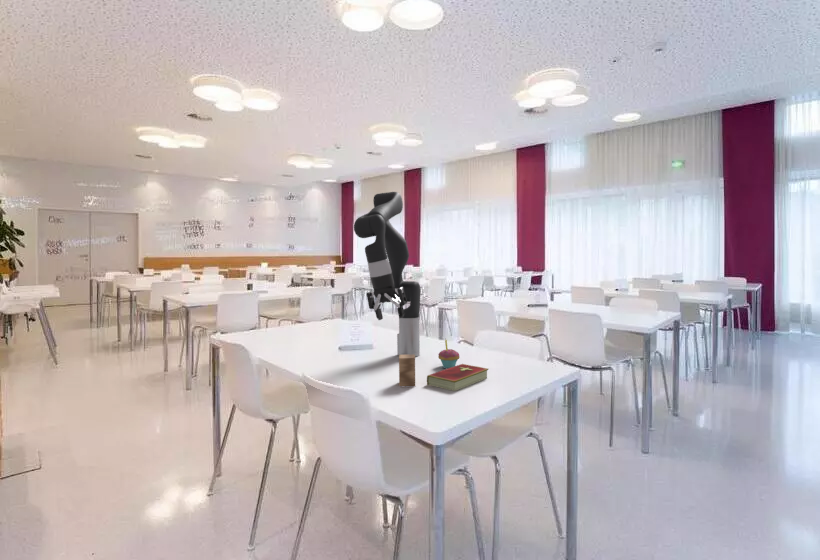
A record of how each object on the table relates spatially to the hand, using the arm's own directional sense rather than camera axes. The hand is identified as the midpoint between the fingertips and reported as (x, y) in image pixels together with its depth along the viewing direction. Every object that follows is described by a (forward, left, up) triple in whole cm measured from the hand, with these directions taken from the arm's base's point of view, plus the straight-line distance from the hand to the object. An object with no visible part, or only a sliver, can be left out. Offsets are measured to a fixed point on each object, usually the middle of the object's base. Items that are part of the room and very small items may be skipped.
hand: (391, 318), depth 158 cm
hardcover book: (+17, +17, -24) cm, 34 cm away
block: (+4, +3, -23) cm, 24 cm away
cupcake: (+2, +32, -23) cm, 40 cm away
